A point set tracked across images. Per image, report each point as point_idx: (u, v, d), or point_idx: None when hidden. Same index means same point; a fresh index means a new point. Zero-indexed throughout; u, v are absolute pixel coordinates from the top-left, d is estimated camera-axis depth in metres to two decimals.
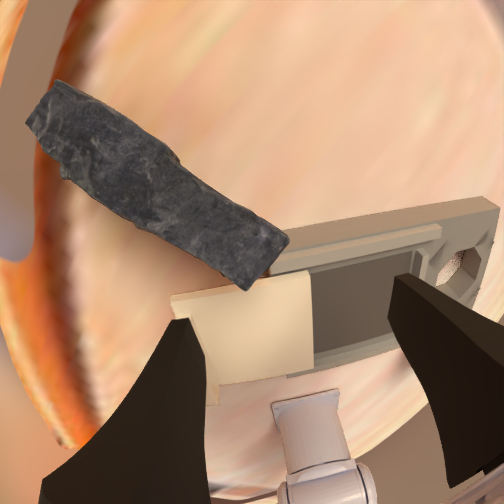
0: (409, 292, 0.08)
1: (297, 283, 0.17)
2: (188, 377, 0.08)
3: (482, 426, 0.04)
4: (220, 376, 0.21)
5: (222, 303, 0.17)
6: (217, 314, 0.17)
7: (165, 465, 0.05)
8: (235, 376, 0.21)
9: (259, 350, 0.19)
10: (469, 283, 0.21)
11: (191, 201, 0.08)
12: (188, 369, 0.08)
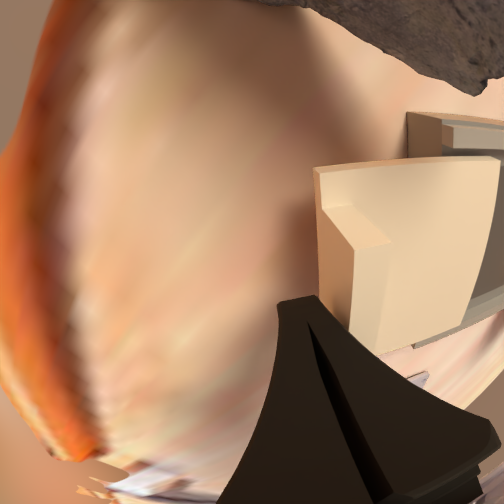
0: None
1: (490, 167, 0.08)
2: None
3: None
4: None
5: (407, 185, 0.08)
6: (394, 209, 0.09)
7: None
8: None
9: (422, 291, 0.11)
10: None
11: None
12: None
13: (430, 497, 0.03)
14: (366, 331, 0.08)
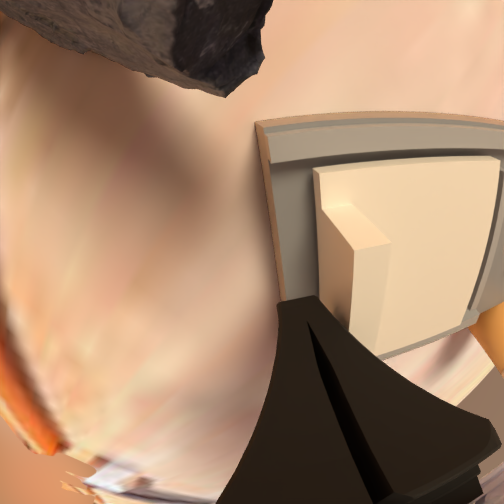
0: None
1: (489, 167, 0.08)
2: None
3: None
4: None
5: (407, 185, 0.08)
6: (394, 209, 0.09)
7: None
8: None
9: (422, 291, 0.11)
10: None
11: None
12: None
13: (430, 497, 0.03)
14: (366, 331, 0.08)
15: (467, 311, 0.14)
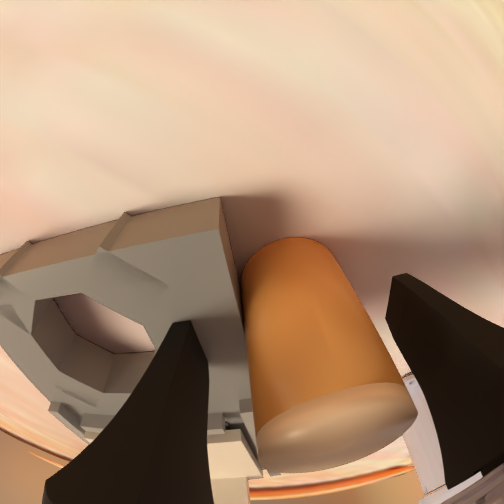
0: (407, 293, 0.08)
1: None
2: (191, 377, 0.08)
3: (480, 427, 0.04)
4: (243, 476, 0.15)
5: None
6: None
7: (169, 465, 0.05)
8: (245, 472, 0.15)
9: None
10: None
11: None
12: (191, 369, 0.08)
13: None
14: None
15: None
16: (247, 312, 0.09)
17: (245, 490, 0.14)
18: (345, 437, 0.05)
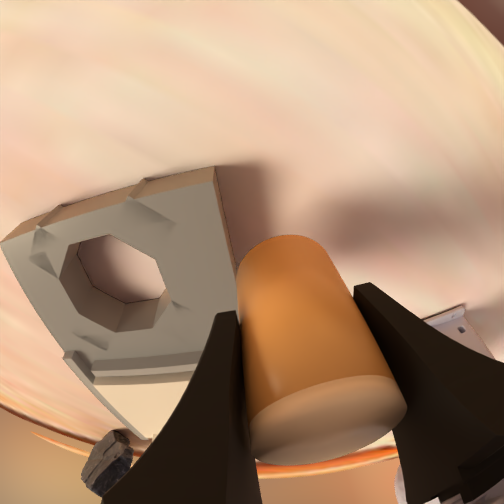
0: (366, 304, 0.08)
1: (102, 392, 0.15)
2: (240, 370, 0.08)
3: (434, 454, 0.04)
4: None
5: (137, 422, 0.18)
6: (149, 425, 0.18)
7: (237, 463, 0.05)
8: None
9: None
10: (123, 237, 0.12)
11: None
12: (240, 362, 0.08)
13: (501, 452, 0.03)
14: None
15: None
16: (242, 306, 0.09)
17: None
18: (335, 428, 0.05)
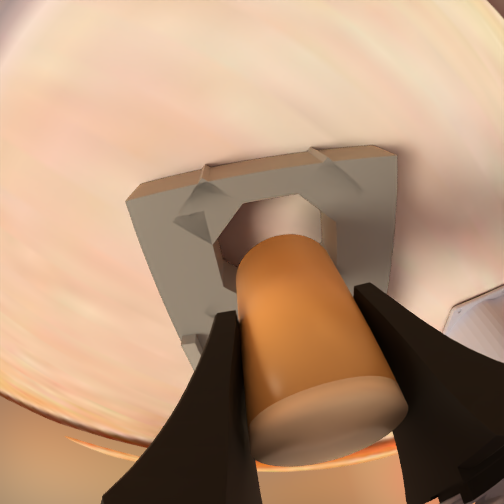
0: (366, 304, 0.08)
1: None
2: (240, 370, 0.08)
3: (434, 454, 0.04)
4: None
5: None
6: None
7: (237, 463, 0.05)
8: None
9: None
10: (306, 198, 0.12)
11: None
12: (240, 362, 0.08)
13: (501, 452, 0.03)
14: None
15: None
16: (242, 306, 0.09)
17: None
18: (336, 430, 0.05)
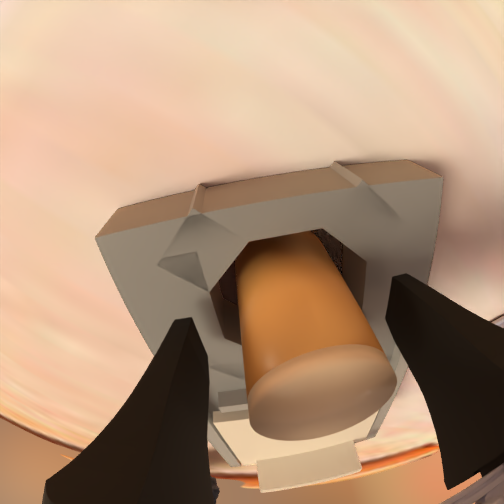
0: (406, 293, 0.08)
1: (222, 428, 0.13)
2: (191, 377, 0.08)
3: (479, 428, 0.04)
4: (351, 439, 0.16)
5: (245, 452, 0.15)
6: (258, 453, 0.15)
7: (169, 465, 0.05)
8: (358, 433, 0.16)
9: None
10: None
11: None
12: (192, 369, 0.08)
13: None
14: (303, 484, 0.14)
15: (394, 351, 0.13)
16: (241, 289, 0.10)
17: (355, 453, 0.15)
18: (329, 397, 0.06)
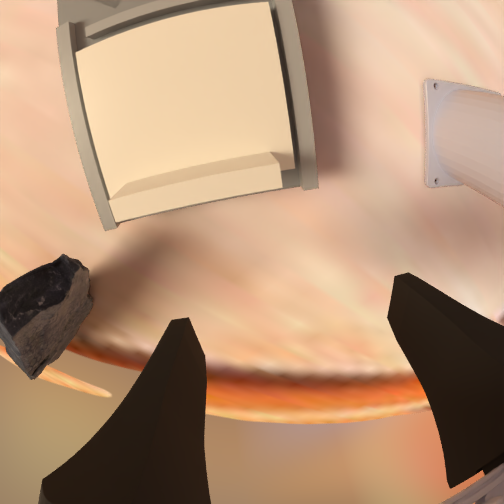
0: (409, 292, 0.08)
1: (82, 63, 0.09)
2: (187, 377, 0.08)
3: (482, 426, 0.04)
4: (265, 148, 0.13)
5: (108, 145, 0.12)
6: (125, 150, 0.12)
7: (164, 465, 0.05)
8: (269, 124, 0.12)
9: (200, 87, 0.11)
10: None
11: (4, 338, 0.11)
12: (188, 369, 0.08)
13: None
14: (176, 194, 0.11)
15: None
16: None
17: (271, 156, 0.12)
18: None
